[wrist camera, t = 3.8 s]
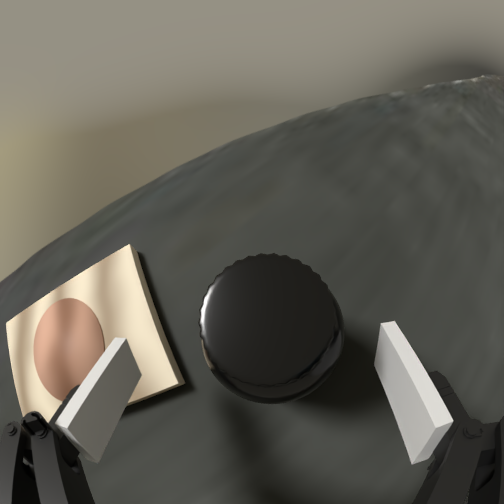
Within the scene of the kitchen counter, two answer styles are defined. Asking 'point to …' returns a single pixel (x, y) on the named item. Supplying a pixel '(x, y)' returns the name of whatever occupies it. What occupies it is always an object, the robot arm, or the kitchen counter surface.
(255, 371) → the supplement bottle
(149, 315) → the birch board
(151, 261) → the kitchen counter surface
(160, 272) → the kitchen counter surface
